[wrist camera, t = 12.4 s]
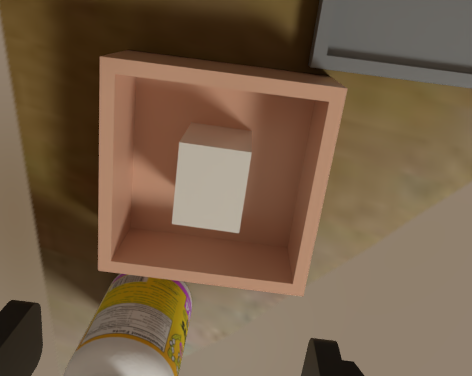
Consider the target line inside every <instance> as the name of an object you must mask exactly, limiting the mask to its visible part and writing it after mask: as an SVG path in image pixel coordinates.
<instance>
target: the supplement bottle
mask: <svg viewBox="0 0 472 376" xmlns="http://www.w3.org/2000/svg"><path fill="white" fill-rule="evenodd" d="M191 310H192V299H191V294H190V291H189V289H188V287H187V285H186V284H185V282H184V281H176V280H168V279H160V278H152V277H144V276H136V275H128V274H119V275H118V276H117V277H116V278H115V279H114V280H113V282H112V283H111V285H110V287H109V289H108V290H107V292H106V294H105V296H104V298H103V300H102V302H101V303H100V305H99V307H98V309H97V311H96V313H95V315H94V317H93V319H92V321H91V322H90V324H89V326H88V328H87V330H86V332H85V334H84V336H83V337H82V339H81V341H80V343H79V345H78V347H77V349H76V350H75V352H74V354H73V356H72V358H71V359H70V361H69V363H68V365H67V367H66V369H65V372H64V376H178V374H179V369H180V364H181V360H182V355H183V350H184V345H185V341H186V336H187V331H188V326H189V321H190V316H191Z"/></svg>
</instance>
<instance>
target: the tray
mask: <svg viewBox="0 0 472 376" xmlns="http://www.w3.org/2000/svg"><path fill="white" fill-rule="evenodd" d="M308 65H309V66H310V67H312V68H320V69H328V70H335V71H343V72H351V73H358V74H366V75H373V76H381V77H389V78H396V79H404V80H412V81H419V82H427V83H435V84H442V85H450V86H458V87H465V88H472V0H320V1H319V7H318V13H317V18H316V24H315V29H314V35H313V41H312V46H311V52H310V58H309V63H308Z"/></svg>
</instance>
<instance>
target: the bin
mask: <svg viewBox="0 0 472 376" xmlns="http://www.w3.org/2000/svg"><path fill="white" fill-rule="evenodd" d="M346 93H347V88H346V87H345V86H343V85H342V84H340V83H339V82H337V81H336V80H335V79H333V78H332V77H330V76H324V75H317V74H309V73H302V72H294V71H286V70H279V69H271V68H263V67H256V66H248V65H240V64H233V63H225V62H217V61H210V60H202V59H194V58H187V57H179V56H171V55H164V54H156V53H148V52H141V51H133V50H125V51H121V52H117V53H112V54H108V55H103V56H100V90H99V208H98V271H104V272H112V273H120V274H128V275H136V276H144V277H152V278H160V279H168V280H176V281H184V282H192V283H200V284H208V285H216V286H224V287H232V288H240V289H248V290H256V291H264V292H272V293H280V294H288V295H296V296H303V295H304V291H305V286H306V281H307V277H308V272H309V267H310V262H311V258H312V253H313V248H314V244H315V239H316V234H317V230H318V225H319V220H320V215H321V211H322V206H323V201H324V197H325V192H326V187H327V183H328V178H329V173H330V168H331V164H332V159H333V154H334V150H335V145H336V140H337V136H338V131H339V126H340V121H341V117H342V112H343V107H344V103H345V98H346ZM191 122H192V123H199V124H206V125H213V126H220V127H227V128H234V129H241V130H248V131H252V154H251V161H250V167H249V173H248V180H247V186H246V193H245V199H244V205H243V212H242V218H241V224H240V231H239V233H233V232H226V231H219V230H212V229H205V228H197V227H190V226H183V225H176V224H172V216H173V205H174V195H175V184H176V173H177V162H178V151H179V142H180V140H181V139H182V137H183V135H184V134H185V132H186V130H187V129H188V127H189V126H190V124H191Z"/></svg>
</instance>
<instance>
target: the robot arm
mask: <svg viewBox="0 0 472 376" xmlns="http://www.w3.org/2000/svg"><path fill="white" fill-rule="evenodd" d="M42 346H43V342H42V322H41V307H40V305H39V304H38V303H33V302H25V301H17V300H11V301H9V302H8V303H7V305H6V306H5V307H4V308H3V309H2V310H1V311H0V376H31V375H32V373H33V372H34V370H35V368H36V367H37V365H38V362H39V360H40V357H41V353H42ZM301 376H364V375H363V373H362V372H361V371H360V369H359V368H358V367H357V366H356V364H355V363H354V362H351V361H344V360H342V359H341V355H340V351H339V347H338V344H337V342H336V341H332V340H324V339H316V338H315V339H314V338H311V339H310V341H309V344H308V348H307V352H306V357H305V361H304V365H303V370H302V374H301Z"/></svg>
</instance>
